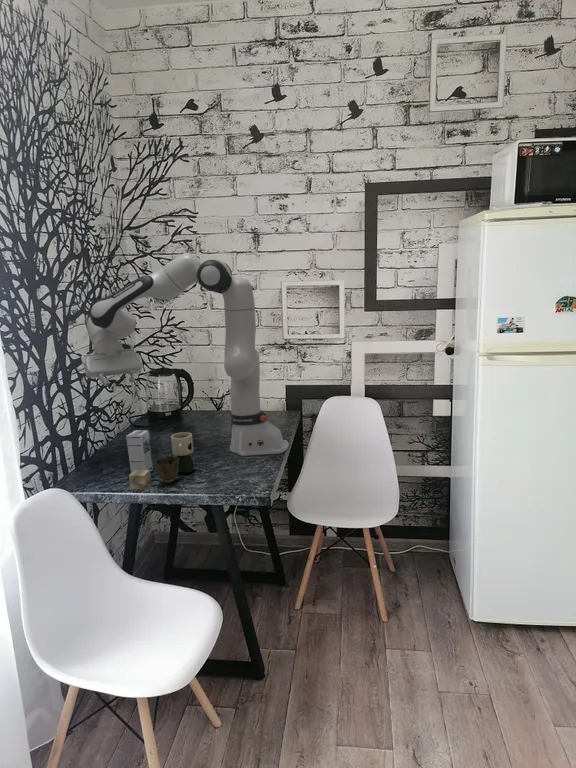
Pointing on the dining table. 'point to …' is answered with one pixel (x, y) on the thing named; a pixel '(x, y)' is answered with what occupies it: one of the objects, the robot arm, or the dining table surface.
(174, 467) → the cup
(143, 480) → the birch block
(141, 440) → the syrup box
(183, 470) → the character mug
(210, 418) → the dining table surface
